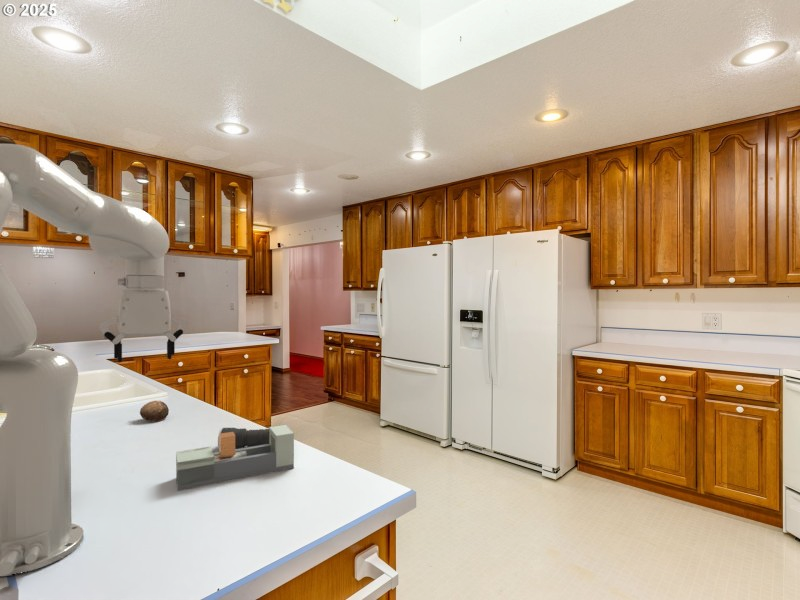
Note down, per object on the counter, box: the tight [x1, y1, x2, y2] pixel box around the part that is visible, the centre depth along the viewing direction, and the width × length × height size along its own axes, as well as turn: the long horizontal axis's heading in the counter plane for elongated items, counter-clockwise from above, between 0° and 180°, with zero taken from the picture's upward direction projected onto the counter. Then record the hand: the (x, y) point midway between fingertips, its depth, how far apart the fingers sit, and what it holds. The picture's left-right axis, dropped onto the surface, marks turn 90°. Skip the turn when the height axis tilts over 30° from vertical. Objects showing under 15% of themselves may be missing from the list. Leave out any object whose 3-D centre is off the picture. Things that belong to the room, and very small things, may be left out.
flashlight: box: [217, 427, 269, 449], centre depth 114 cm, size 15×5×5 cm, turn 96°
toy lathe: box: [175, 424, 295, 492], centre depth 98 cm, size 24×7×8 cm, turn 119°
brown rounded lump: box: [139, 400, 170, 423], centre depth 137 cm, size 8×8×6 cm
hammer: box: [214, 432, 247, 462], centre depth 95 cm, size 14×3×8 cm, turn 119°
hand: (145, 359), depth 98 cm, fingers open, 9 cm apart
